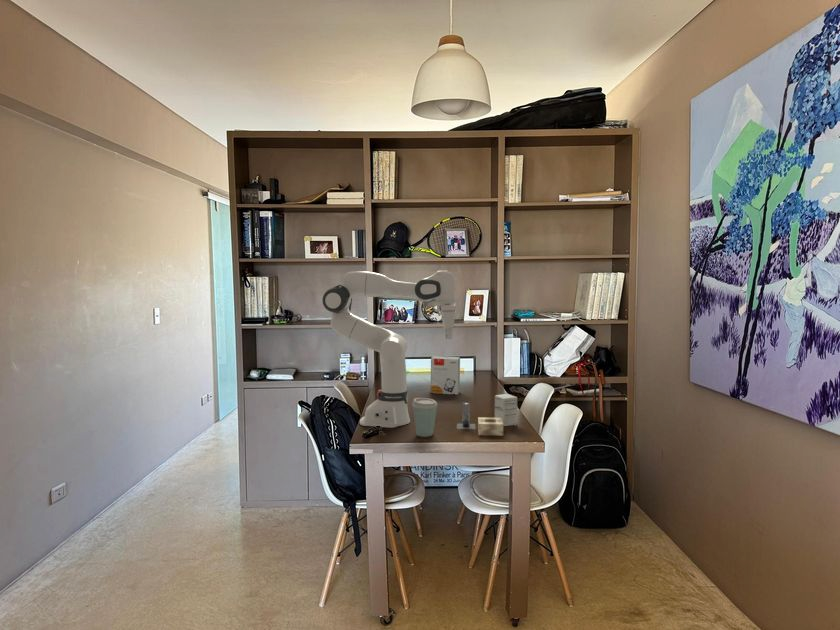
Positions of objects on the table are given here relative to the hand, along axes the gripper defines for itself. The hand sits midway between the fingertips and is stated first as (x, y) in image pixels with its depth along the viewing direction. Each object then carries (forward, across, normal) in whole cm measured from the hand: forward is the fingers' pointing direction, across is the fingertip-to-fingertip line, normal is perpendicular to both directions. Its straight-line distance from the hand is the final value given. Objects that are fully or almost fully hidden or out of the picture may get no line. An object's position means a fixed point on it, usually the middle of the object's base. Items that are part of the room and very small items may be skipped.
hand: (448, 338), depth 233 cm
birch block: (+40, +10, +14) cm, 44 cm away
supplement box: (+39, -2, +23) cm, 46 cm away
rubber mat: (+38, +2, +5) cm, 39 cm away
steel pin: (+38, +2, +5) cm, 39 cm away
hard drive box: (+32, -64, 0) cm, 72 cm away
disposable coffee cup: (+39, +14, -13) cm, 43 cm away
